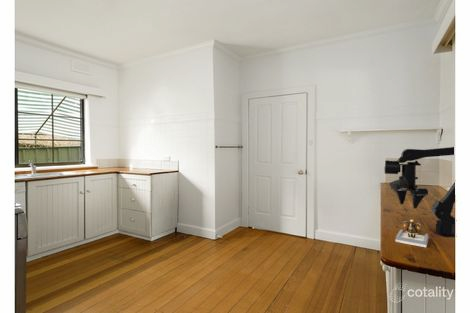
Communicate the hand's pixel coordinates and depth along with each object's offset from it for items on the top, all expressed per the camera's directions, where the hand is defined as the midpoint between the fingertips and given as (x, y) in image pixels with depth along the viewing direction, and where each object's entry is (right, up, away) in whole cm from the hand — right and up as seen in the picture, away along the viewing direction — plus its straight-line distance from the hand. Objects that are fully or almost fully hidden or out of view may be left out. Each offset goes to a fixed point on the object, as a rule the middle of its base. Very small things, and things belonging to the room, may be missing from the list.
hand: (408, 206), depth 129 cm
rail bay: (-7, -13, -13) cm, 19 cm away
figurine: (-7, -12, -13) cm, 18 cm away
